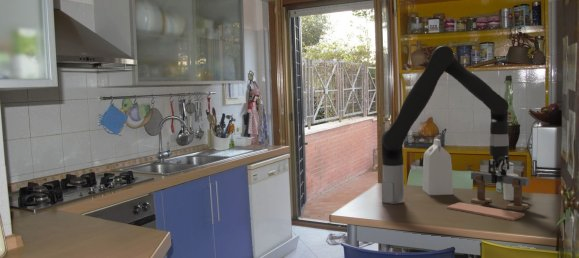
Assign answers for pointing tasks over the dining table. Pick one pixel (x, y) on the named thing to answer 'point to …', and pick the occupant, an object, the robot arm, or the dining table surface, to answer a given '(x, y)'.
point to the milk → (437, 170)
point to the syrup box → (511, 168)
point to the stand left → (480, 192)
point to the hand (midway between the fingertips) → (499, 181)
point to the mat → (486, 211)
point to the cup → (508, 190)
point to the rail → (501, 178)
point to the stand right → (517, 197)
